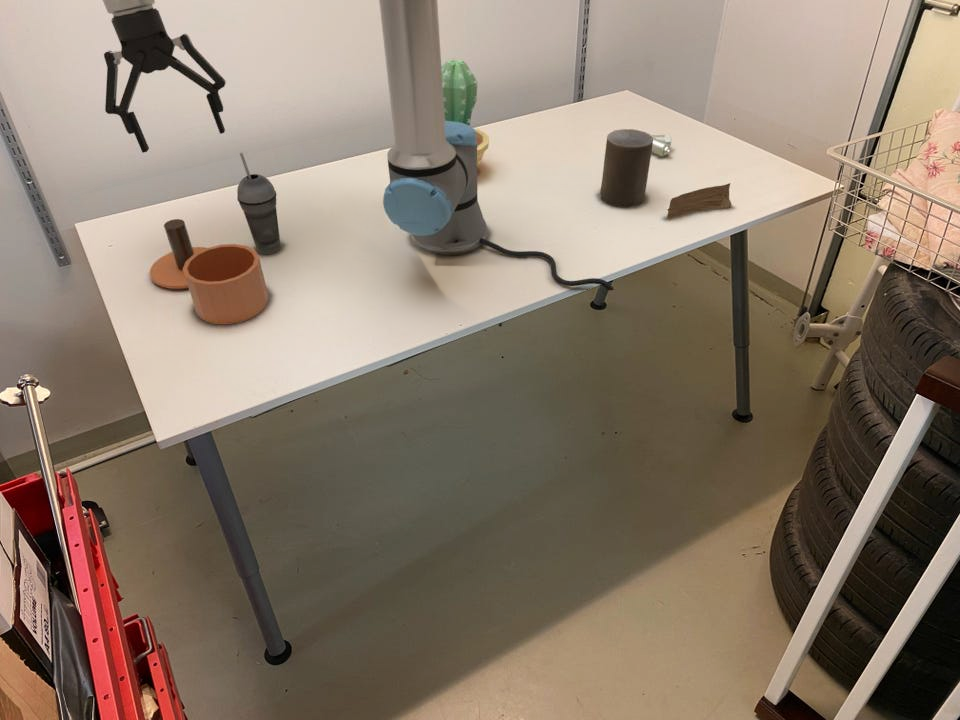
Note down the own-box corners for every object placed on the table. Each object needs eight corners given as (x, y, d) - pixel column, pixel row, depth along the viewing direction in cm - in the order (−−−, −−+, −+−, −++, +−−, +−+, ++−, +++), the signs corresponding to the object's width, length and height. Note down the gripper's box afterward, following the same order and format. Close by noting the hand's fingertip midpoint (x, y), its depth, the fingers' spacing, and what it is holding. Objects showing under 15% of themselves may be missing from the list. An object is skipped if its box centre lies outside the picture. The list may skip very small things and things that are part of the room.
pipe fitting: (671, 159, 175) (666, 146, 179) (674, 145, 172) (669, 131, 177) (638, 160, 175) (634, 146, 179) (640, 145, 172) (636, 131, 177)
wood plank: (670, 221, 151) (674, 200, 148) (665, 217, 153) (668, 195, 149) (730, 207, 156) (735, 186, 152) (724, 203, 157) (729, 182, 154)
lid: (239, 258, 142) (227, 211, 135) (199, 296, 132) (183, 248, 125) (180, 247, 145) (165, 201, 138) (136, 284, 135) (118, 236, 128)
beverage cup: (278, 259, 141) (257, 163, 128) (244, 256, 142) (219, 160, 129) (293, 240, 146) (274, 146, 133) (259, 237, 148) (237, 143, 135)
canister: (281, 289, 133) (272, 250, 128) (244, 330, 124) (232, 289, 119) (221, 278, 136) (210, 239, 131) (181, 317, 127) (167, 276, 122)
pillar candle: (625, 212, 154) (634, 145, 145) (590, 196, 160) (597, 130, 150) (653, 197, 159) (664, 132, 149) (619, 182, 165) (627, 118, 155)
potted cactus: (496, 160, 174) (496, 53, 158) (481, 190, 162) (481, 77, 146) (434, 155, 177) (428, 48, 160) (416, 183, 165) (408, 72, 149)
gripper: (48, 30, 113) (109, 163, 123) (208, -5, 116) (253, 128, 127) (60, 26, 119) (117, 153, 130) (211, -7, 122) (254, 120, 133)
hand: (184, 141), depth 128 cm, fingers open, 13 cm apart
